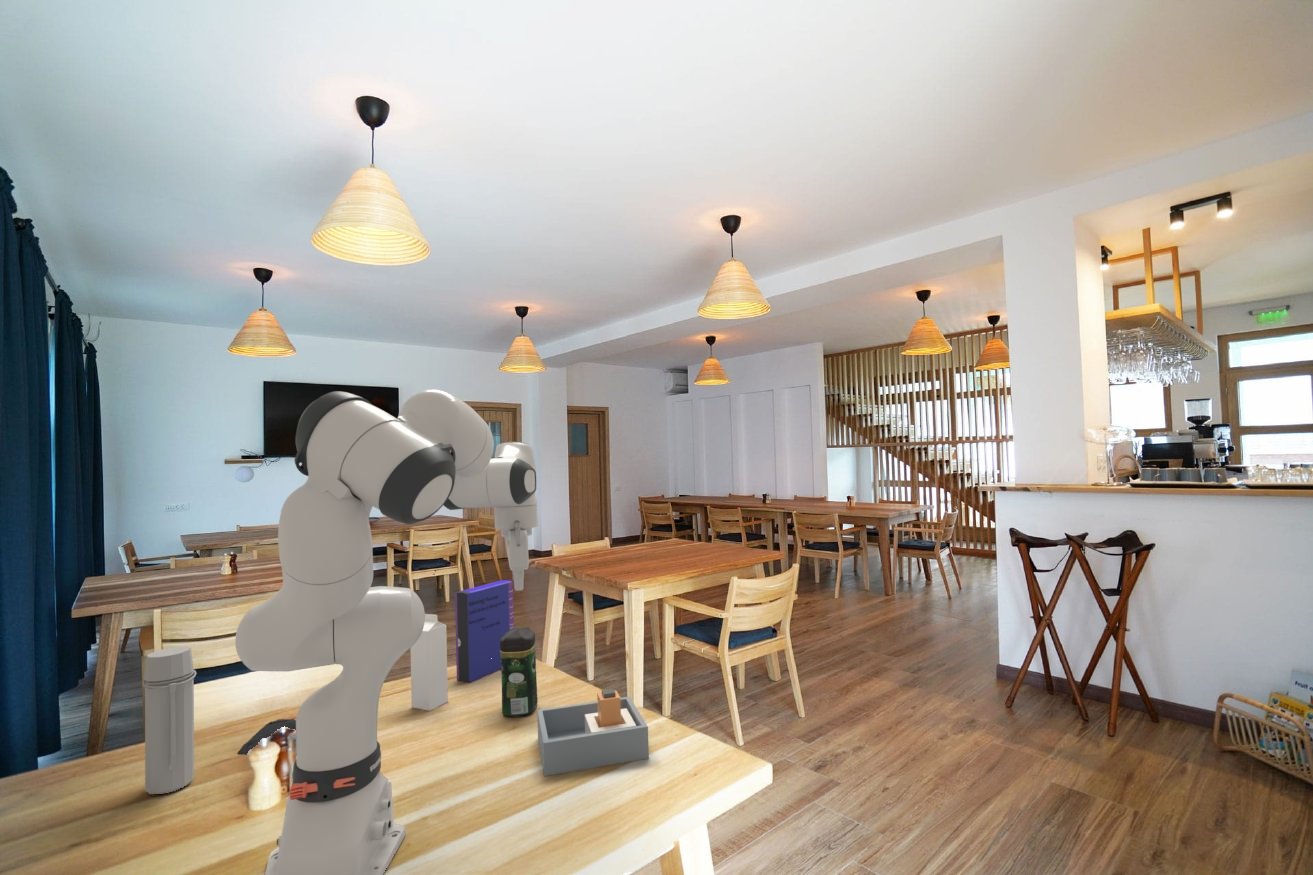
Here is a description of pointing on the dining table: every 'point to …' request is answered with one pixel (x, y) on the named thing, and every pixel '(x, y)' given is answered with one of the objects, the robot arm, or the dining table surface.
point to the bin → (587, 739)
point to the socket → (592, 726)
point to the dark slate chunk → (267, 733)
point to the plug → (608, 708)
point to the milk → (429, 666)
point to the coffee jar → (518, 672)
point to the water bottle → (169, 720)
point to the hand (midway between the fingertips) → (518, 585)
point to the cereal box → (482, 628)
